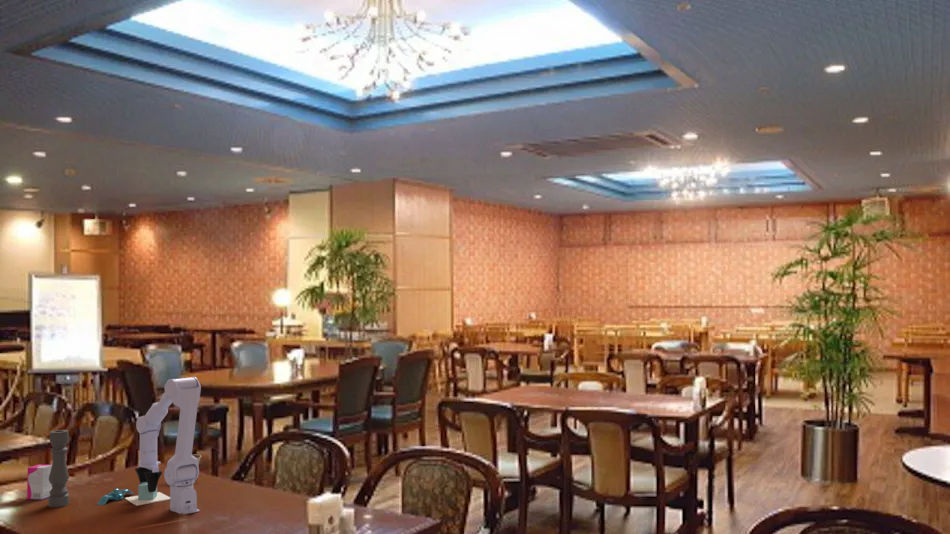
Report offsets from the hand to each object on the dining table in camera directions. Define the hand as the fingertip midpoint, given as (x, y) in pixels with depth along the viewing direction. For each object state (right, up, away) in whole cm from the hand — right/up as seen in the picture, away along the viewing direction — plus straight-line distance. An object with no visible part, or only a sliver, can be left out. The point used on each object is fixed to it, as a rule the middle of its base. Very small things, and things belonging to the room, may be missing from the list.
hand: (148, 489), depth 278 cm
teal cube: (0, -3, 0) cm, 3 cm away
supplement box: (-39, -4, +2) cm, 39 cm away
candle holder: (-27, -3, -8) cm, 29 cm away
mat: (0, -3, 0) cm, 3 cm away
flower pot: (+3, -4, +29) cm, 30 cm away
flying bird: (-12, -4, 0) cm, 13 cm away
